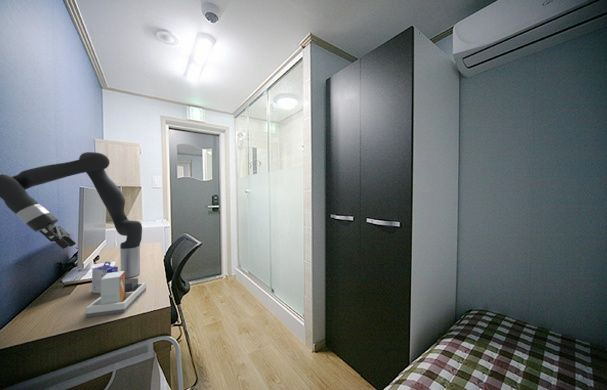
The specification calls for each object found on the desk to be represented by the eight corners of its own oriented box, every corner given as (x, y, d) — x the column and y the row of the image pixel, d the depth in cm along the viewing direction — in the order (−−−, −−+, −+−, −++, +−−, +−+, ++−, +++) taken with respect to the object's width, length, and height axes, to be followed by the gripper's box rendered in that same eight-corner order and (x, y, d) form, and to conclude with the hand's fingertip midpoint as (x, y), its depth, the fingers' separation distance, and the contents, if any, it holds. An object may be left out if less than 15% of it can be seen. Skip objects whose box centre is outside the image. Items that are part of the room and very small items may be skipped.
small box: (120, 307, 90) (119, 276, 90) (100, 310, 87) (100, 279, 87) (125, 298, 98) (125, 270, 97) (107, 301, 95) (106, 272, 94)
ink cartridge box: (118, 289, 110) (118, 261, 110) (106, 294, 104) (106, 265, 104) (103, 287, 112) (103, 260, 112) (91, 292, 106) (91, 264, 106)
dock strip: (115, 293, 106) (115, 278, 105) (146, 290, 109) (146, 275, 109) (85, 317, 85) (85, 298, 85) (124, 312, 89) (124, 294, 89)
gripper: (41, 211, 84) (74, 241, 89) (55, 212, 96) (84, 239, 100) (16, 223, 80) (53, 254, 85) (34, 223, 92) (65, 250, 97)
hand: (70, 246), depth 93 cm, fingers open, 8 cm apart
